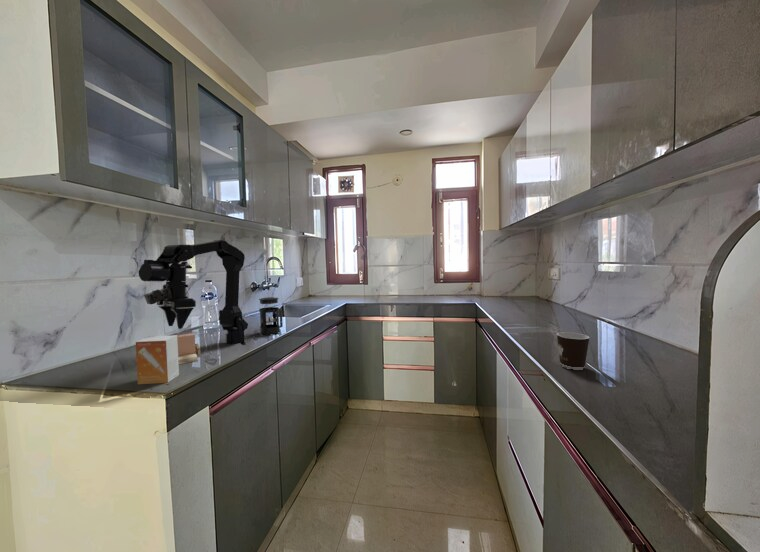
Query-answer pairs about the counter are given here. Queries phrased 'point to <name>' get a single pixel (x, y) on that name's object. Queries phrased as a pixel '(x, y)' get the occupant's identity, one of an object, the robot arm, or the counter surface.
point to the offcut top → (187, 358)
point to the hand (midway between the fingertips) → (175, 327)
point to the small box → (157, 359)
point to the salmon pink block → (186, 344)
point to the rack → (197, 350)
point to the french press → (271, 327)
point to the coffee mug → (572, 348)
